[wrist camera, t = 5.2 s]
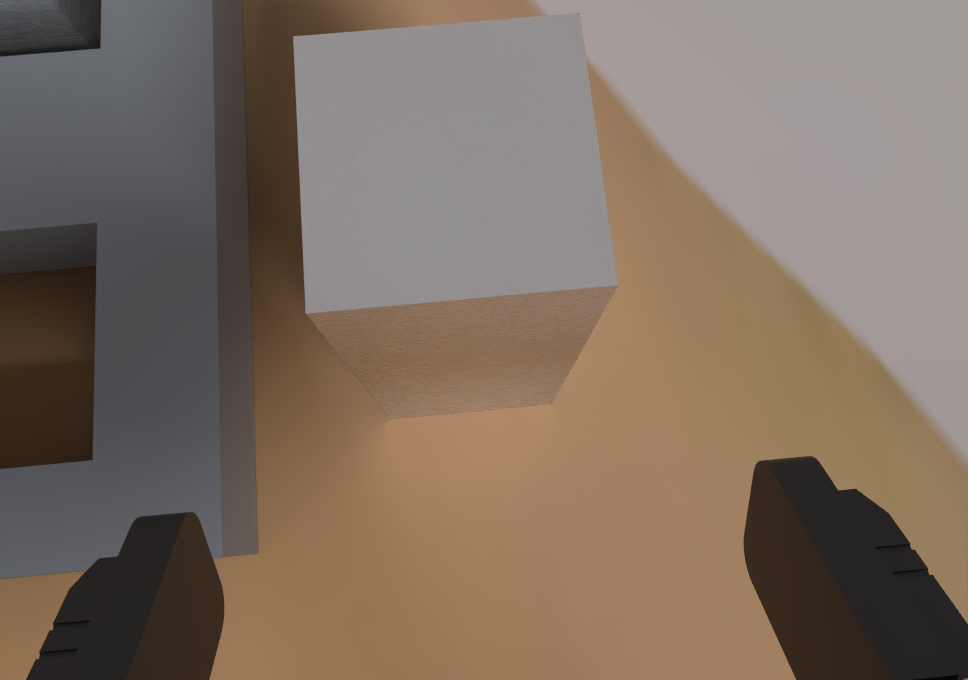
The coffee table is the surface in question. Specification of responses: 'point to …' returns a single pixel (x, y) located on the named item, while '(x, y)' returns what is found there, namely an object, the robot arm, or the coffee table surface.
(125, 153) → the grey square hole board
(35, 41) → the block
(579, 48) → the block
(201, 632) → the robot arm
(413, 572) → the coffee table surface
